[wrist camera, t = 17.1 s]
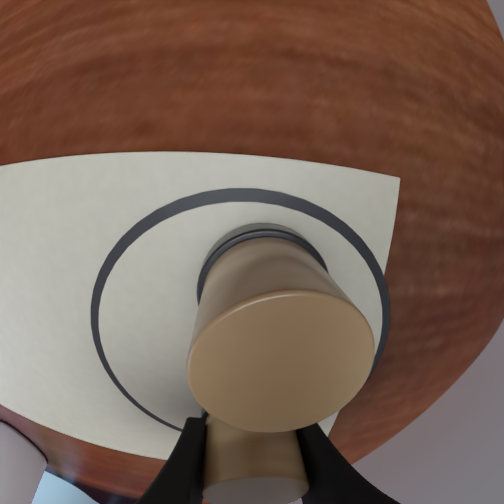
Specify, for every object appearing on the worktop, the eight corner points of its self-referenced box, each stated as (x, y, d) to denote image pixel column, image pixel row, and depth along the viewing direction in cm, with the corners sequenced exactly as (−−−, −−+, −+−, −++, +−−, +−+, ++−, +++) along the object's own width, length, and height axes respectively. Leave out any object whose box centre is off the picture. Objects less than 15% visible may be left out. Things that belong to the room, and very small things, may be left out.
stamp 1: (330, 227, 9) (410, 281, 4) (311, 335, 10) (352, 430, 5) (201, 218, 8) (167, 270, 4) (199, 332, 9) (183, 435, 5)
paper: (413, 181, 9) (424, 183, 8) (328, 453, 13) (331, 460, 13) (-101, 196, 6) (-106, 197, 5) (-64, 355, 10) (-68, 358, 10)
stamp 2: (300, 375, 10) (329, 466, 6) (287, 431, 11) (303, 507, 7) (199, 374, 10) (188, 472, 6) (204, 432, 11) (200, 510, 7)
